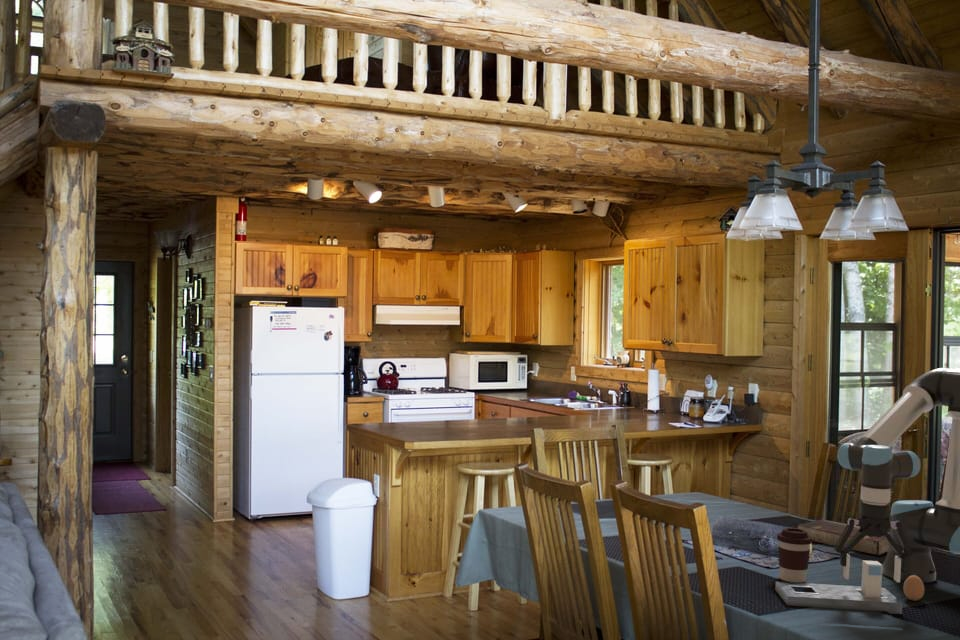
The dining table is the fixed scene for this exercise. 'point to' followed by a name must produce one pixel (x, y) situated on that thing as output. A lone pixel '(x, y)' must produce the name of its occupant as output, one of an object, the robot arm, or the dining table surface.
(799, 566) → the coffee cup
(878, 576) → the plug
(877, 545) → the hardback book
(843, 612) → the dining table surface
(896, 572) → the robot arm
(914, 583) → the egg
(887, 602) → the panel
